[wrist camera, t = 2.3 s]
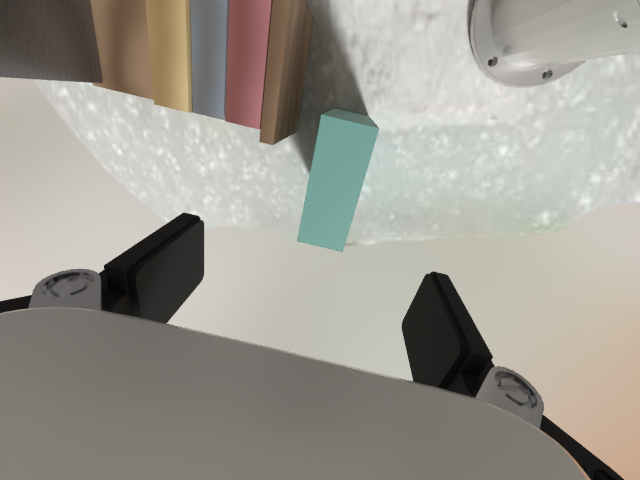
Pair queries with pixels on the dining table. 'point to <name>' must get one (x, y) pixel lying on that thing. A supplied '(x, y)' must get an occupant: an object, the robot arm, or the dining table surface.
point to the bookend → (48, 40)
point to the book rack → (209, 57)
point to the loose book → (336, 177)
